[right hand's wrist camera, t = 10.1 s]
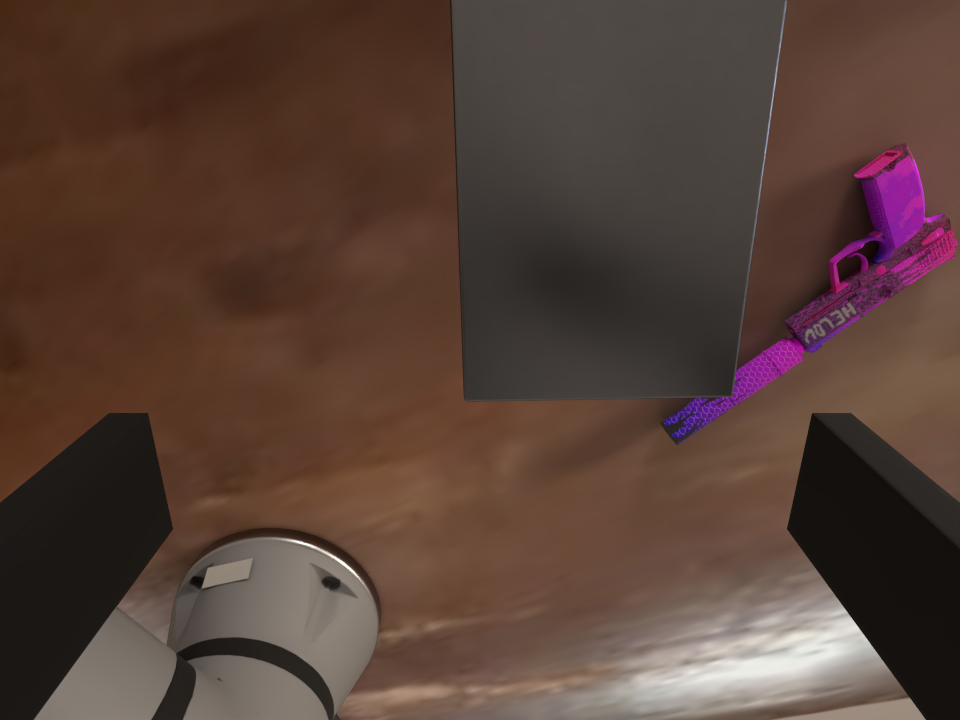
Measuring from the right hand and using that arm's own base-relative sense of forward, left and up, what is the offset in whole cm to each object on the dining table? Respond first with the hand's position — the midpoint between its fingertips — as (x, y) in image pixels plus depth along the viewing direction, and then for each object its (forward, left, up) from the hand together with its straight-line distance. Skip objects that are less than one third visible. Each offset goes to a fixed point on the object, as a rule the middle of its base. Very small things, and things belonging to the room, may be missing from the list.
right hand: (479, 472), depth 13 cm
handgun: (-4, -20, -28) cm, 34 cm away
